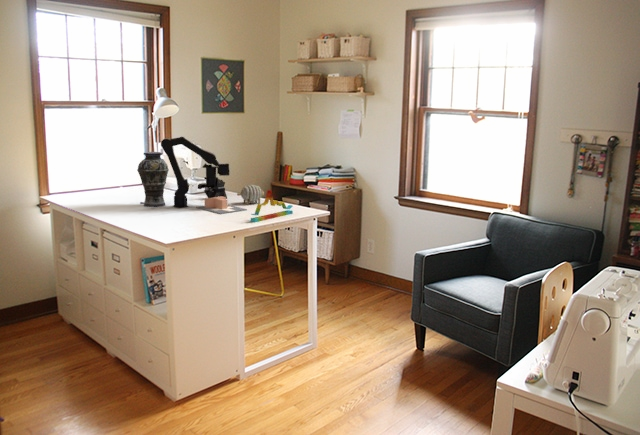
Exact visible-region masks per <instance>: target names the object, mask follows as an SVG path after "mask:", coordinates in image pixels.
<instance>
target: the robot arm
mask: <svg viewBox="0 0 640 435" xmlns="http://www.w3.org/2000/svg"><path fill="white" fill-rule="evenodd" d="M179 145H182V146H183V147H185V148H187V149H189V150H190V151H191V152H192V153H193V152H194V153H195V154H196V155H197V156H199V157H201V159H203V160H204V161H205V163H204V164H203V165H202V168H203V169H205V177H204V180H205V182H204V183H203V182H202V183H198V184H197V189H198V190H202V189H204V190H203V193H204V194H205V195H206V198H213V197H215V194H216V193H220V192H226V187H225V184H226V182H225V181H224V180H223V181H220V180H221V179H220V178H219V177H218V176H217V175H219V176H220V177H221V176H223V177H225V176H226V177H228V176H230V164H229V163H220V162H219V161H218V160H217V156H216V154H215V153H214V152H211V151H209V150H205V149H203V148H201V147H200V146H198V145H196V144H195V143H193V142H191V141H190V140H188V139H187V138H185V136H180V137H175V138H174V137H173V138H169V137H165V138H163V139H162V140H161V141H160V146H161V148H162V149H163V152H164V154H166V156H167V158H168V160H169V163H170V165H171V166H170V167H171V168H172V171H173V174H174V176H175V180H176V184H177V189H175V191H174V196H173V205H172V207H174V208H177V209H180V208H188V207H189V205H188V197H187V195H186V194H188V192H189V191H190V182H189V181H188V178H185V177H184V175H183V173H182V170H181V168H180V165H179V162H178V160H177V156H176V155H175V150H174V146H179ZM219 179H220V180H219Z"/></svg>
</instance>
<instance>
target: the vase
mask: <svg viewBox="0 0 640 435" xmlns="http://www.w3.org/2000/svg"><path fill="white" fill-rule="evenodd" d="M143 155H144V156H145V158H144V159H141V161H140V162H139V163H138V165H137V172H138V173H137V174H138V175H139V177H140V180H141V181H140V182H141V184H142V186H143V189H144V195H145V198H144V203H143V207H145V208H161V207H165V206H166V202H165V198H164V192H165V190H164V188H165V185H166V184H167V177H168V173H169V166H168V163H167V162H166V161H165V159H163V158H161V156H162V155H163V152H161V151H145V152H143Z"/></svg>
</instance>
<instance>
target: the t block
mask: <svg viewBox="0 0 640 435" xmlns="http://www.w3.org/2000/svg"><path fill="white" fill-rule="evenodd" d="M227 205H228V199H226V197H223V196H221V197H219V196H218V197H213V198H208V197H206V198H204V206H205V208H214V207H215V208H219V209H227Z"/></svg>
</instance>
